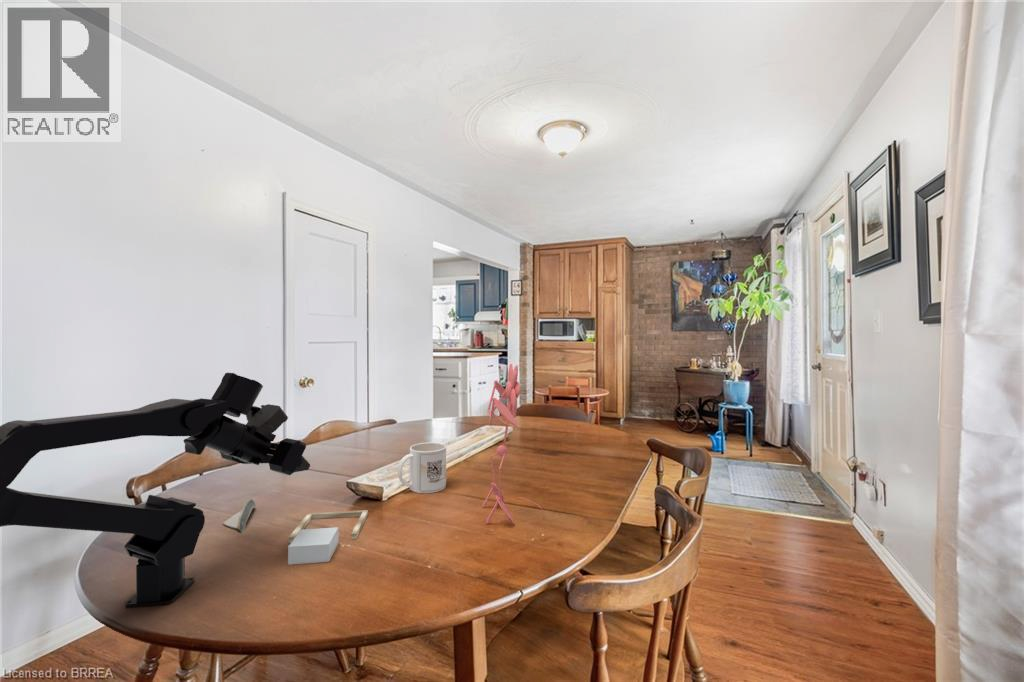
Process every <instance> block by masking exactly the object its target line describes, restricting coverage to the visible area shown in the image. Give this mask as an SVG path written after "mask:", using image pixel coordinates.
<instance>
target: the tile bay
mask: <svg viewBox="0 0 1024 682" xmlns="http://www.w3.org/2000/svg"><path fill="white" fill-rule="evenodd" d="M368 515H369V511H368V510H367V509H366V510H365V509H364V510H363V509H362V510H345V511H344V510H342V511H340V510H339V511H326V512H325V511H324V512H308V513H307V514H306V515H305V517H304V518H303V519H302V520H301V522H299V523H298V525H297V526H296V528H295V529H294V530H293V531H292V532H291V534H290V535H289V536H288V540H287V541H288V542H287V543H288V544H289V543H290V544H291V542H292V541H293V540H294V538H295V537H296V536H297V534H298V533H299V532H300V530H302V529H306V527H307V526H308V525H309V524H310V522H311V521H312V520H316V519H317V520H319V519H335V518H356V517H357V518H358V517H359V518H358V519H357V521H356V524H355V525H354V527H353V530H352V531H351V533H350V540H356V539H357V538H358V536H359V534H360V532H361V529H362V528H363V526H364V523H365V522H366V519H367V517H368Z"/></svg>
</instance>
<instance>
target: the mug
mask: <svg viewBox="0 0 1024 682" xmlns="http://www.w3.org/2000/svg"><path fill="white" fill-rule="evenodd" d="M408 460H409V481H405V480H404V478H403V467H404V464H406V462H407V461H408ZM398 463H399V464H398V466H397V477H398V479H399V482H400V483H401V484H403V485H404V486H406V487H409V490H410V491H412V492H414V493H418V494H432V493H436V492H441V491H443V490H444V489H446V487H447V446H446V444H445V443H440V442H431V441H430V442H421V443H415V444H413V445H411V446H409V453H408V454H405V455H404V456H403V457H402V458H401V460H400V461H399V462H398Z"/></svg>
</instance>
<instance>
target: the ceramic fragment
mask: <svg viewBox="0 0 1024 682" xmlns="http://www.w3.org/2000/svg"><path fill="white" fill-rule="evenodd" d="M256 507H257V504H256V503H255V501H254V500H253V499H248V500H247V501H246V502H245V504H244V506H243V507H242V509H241V510H240V511H238V512H236V513H235V514H234V515H232V516H230V517H229V518H228V519H226V520H225V521H224V522H223V523H222V525H223V526H225V527H227V528H231V529H232V530H233V529H234V530H237V531H239V532H240V533H243V532H245V530H246V525H247V522H248V520H249V517H250V515H251V514H252V511H253V509H255V508H256Z"/></svg>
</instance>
